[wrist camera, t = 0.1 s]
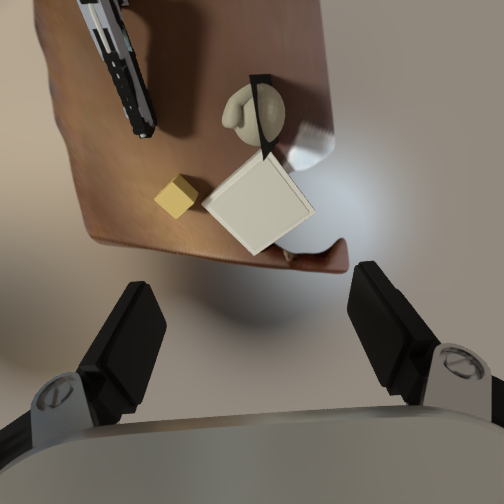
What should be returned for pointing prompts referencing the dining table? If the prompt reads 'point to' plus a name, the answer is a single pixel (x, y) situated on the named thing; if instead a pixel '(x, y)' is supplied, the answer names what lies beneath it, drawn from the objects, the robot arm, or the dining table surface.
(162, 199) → the mustard cube
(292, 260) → the dining table surface
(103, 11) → the toy gun
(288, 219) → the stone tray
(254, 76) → the decorative object
